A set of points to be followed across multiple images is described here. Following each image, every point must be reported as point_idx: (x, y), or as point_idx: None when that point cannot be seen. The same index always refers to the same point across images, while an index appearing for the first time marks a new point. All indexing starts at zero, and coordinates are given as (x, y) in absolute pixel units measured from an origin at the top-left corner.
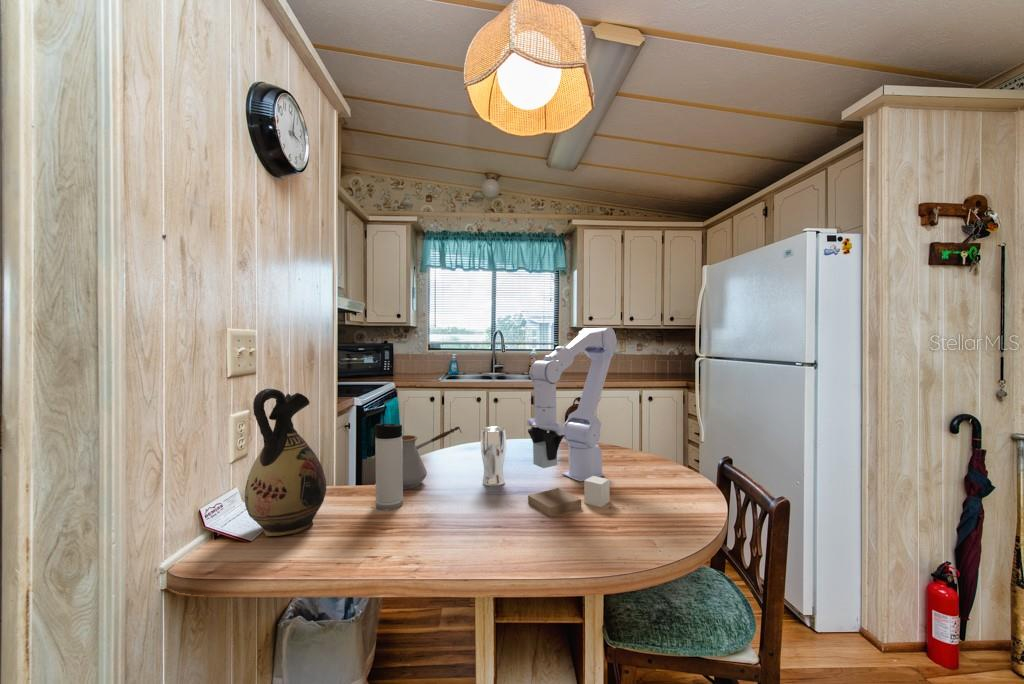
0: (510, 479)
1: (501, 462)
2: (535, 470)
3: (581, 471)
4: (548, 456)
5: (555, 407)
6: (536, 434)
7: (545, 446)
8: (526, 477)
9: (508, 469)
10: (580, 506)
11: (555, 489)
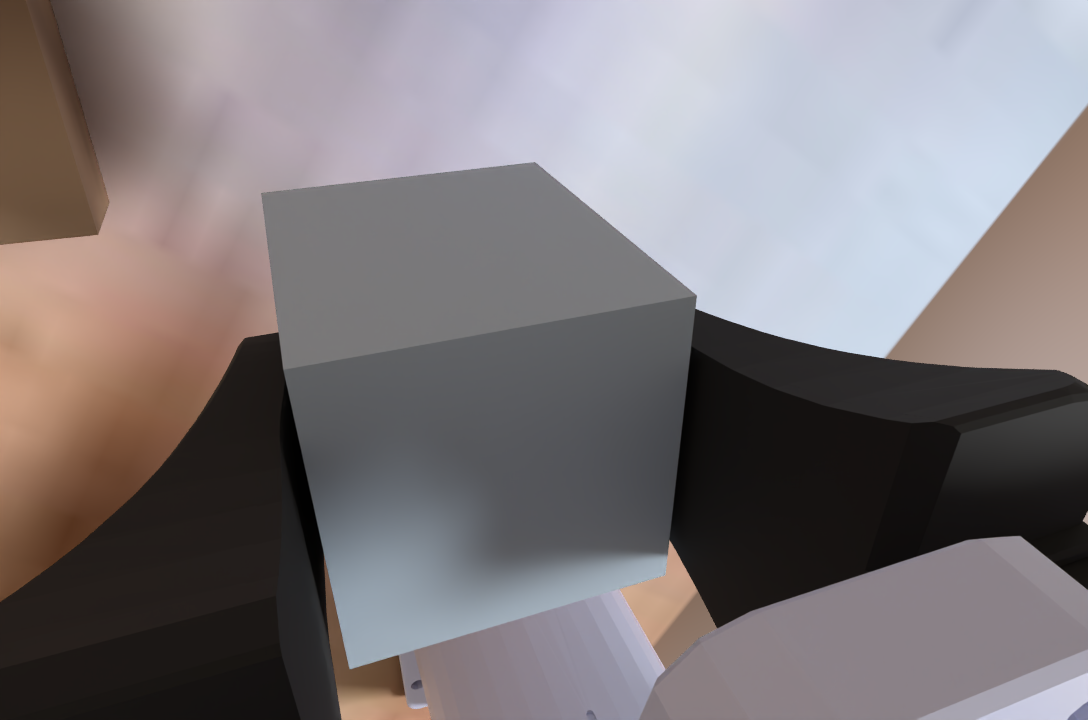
0: (785, 9)
1: None
2: (799, 332)
3: None
4: (236, 358)
5: None
6: (811, 498)
7: (301, 431)
8: (728, 184)
9: (968, 142)
10: None
11: (55, 184)
